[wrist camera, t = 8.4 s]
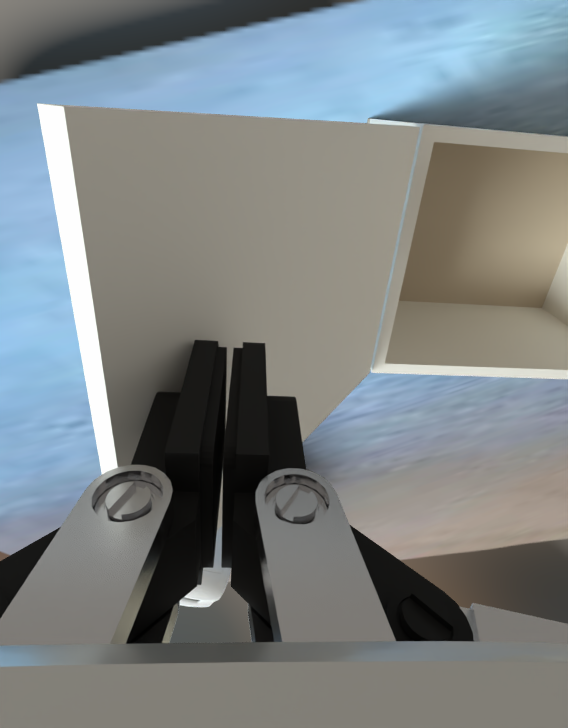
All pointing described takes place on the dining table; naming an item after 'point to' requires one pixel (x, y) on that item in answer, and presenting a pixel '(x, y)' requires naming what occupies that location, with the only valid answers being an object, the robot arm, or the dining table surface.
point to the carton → (479, 258)
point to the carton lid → (222, 251)
